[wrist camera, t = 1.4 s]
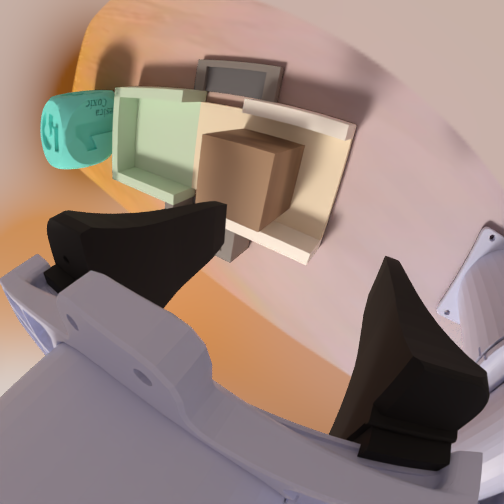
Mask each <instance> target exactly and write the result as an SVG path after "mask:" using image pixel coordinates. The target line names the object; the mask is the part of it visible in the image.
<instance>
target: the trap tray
mask: <svg viewBox="0 0 504 504" xmlns="http://www.w3.org/2000/svg"><path fill="white" fill-rule="evenodd" d="M283 72H284V68H283V67H279V66H272V65H265V64H257V63H248V62H237V61H223V60H200V59H199V60H198V66H197V72H196V79H195V85H194V89H185V88H172V87H154V86H129V87H115V95H114V110H113V133H112V173H113V179H114V180H117V181H119V182H121V183H123V184H126V185H128V186H130V187H133V188H135V189H137V190H139V191H142V192H144V193H146V194H149V195H151V196H153V197H155V198H158V199H160V200H162V201H164V202H165V209H168V208H173V207H179V206H184V205H189V204H195V200H196V196H195V189H197V178H198V169H199V159H200V150H201V142H202V134H206V133H213V132H220V131H227V130H235V129H243V128H244V129H248V130H252V131H256V132H260V133H264V134H268V135H271V136H275V137H278V138H282V139H285V140H289V141H292V142H295V143H299V144H302V145H305V148H304V152H303V156H302V161H301V165H300V169H299V173H298V177H297V181H296V185H295V189H294V193H293V197H292V201H291V205H290V208H289V209H288V210H287V211H285V212H284V213H283V214H282V215H280V216H279V217H278V218H276V219H275V220H274V221H272V222H271V223H270V224H269V225H267V226H266V227H265V228H263V229H262V230H261V231H260V232H256V231H254V230H251V229H249V228H247V227H245V226H242V225H240V224H238V223H235V222H233V221H231V220H228V219H226V227H225V241H224V244H223V245H222V247H221V248H220V249H219V251H218V252H217V253H216V254H215V256H217V257H219V258H221V259H223V260H225V261H227V262H229V263H230V262H232V261H233V260H234V259H235V258H237V257H238V256H239V255H240V254H241V253H243V252H244V251H245V250H246V249H248V247H249V241H250V240H252V241H254V242H256V243H258V244H260V245H263V246H265V247H267V248H269V249H271V250H274V251H276V252H278V253H280V254H282V255H285V256H287V257H289V258H291V259H293V260H295V261H298V262H300V263H302V264H304V265H307V264H308V262H309V261H310V259H311V258H312V257H313V255H314V254H315V253H316V251H317V250H318V248H319V246H320V243H321V240H322V237H323V234H324V231H325V228H326V225H327V222H328V219H329V216H330V213H331V210H332V207H333V204H334V201H335V198H336V195H337V191H338V188H339V185H340V182H341V178H342V175H343V172H344V168H345V165H346V162H347V158H348V155H349V151H350V148H351V144H352V140H353V137H354V133H355V129H356V126H357V125H355V124H352V123H349V122H346V121H343V120H340V119H337V118H334V117H330V116H327V115H324V114H320V113H317V112H313V111H309V110H305V109H302V108H298V107H293V106H289V105H285V104H281V103H277V101H278V96H279V91H280V86H281V82H282V77H283ZM207 91H211V92H219V93H226V94H232V95H239V96H244V97H250V98H255V99H244V104H243V108H239V107H234V106H228V105H223V104H217V103H210V102H206V97H207ZM257 99H261V100H257Z"/></svg>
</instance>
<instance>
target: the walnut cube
mask: <svg viewBox="0 0 504 504" xmlns="http://www.w3.org/2000/svg"><path fill="white" fill-rule="evenodd" d="M304 148H305V145H302V144H299V143H295V142H292V141H289V140H285V139H282V138H278V137H275V136H271V135H268V134H264V133H260V132H256V131H252V130H248V129H244V128H243V129H235V130H227V131H220V132H213V133H206V134H202V142H201V150H200V159H199V169H198V178H197V189H196V200H195V203H200V202H207V201H218V202H221V203H224V204H227V214H226V219H228V220H231V221H233V222H235V223H238V224H240V225H242V226H245V227H247V228H249V229H251V230H254V231H256V232H260V231H261V230H262V229H263V228H265V227H266V226H267V225H269V224H270V223H271V222H272V221H274V220H275V219H276V218H278V217H279V216H280V215H282V214H283V213H284V212H285V211H287V210H288V209H289V208H290V205H291V201H292V197H293V193H294V189H295V185H296V181H297V177H298V173H299V169H300V165H301V161H302V156H303V152H304Z"/></svg>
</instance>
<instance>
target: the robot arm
mask: <svg viewBox="0 0 504 504" xmlns="http://www.w3.org/2000/svg"><path fill="white" fill-rule="evenodd" d="M226 214H227V204H224V203H221V202H218V201H207V202H200V203H195V204H189V205H184V206H179V207H173V208H168V209H162V210H156V211H149V212H139V213H122V214H100V213H86V212H77V211H69V210H68V211H64V212H62V213H60V214H58V215H56V216H54V217H52V218H50V219H49V221H48V224H47V235H48V239H49V243H50V247H51V250H52V254H53V257H54V260H55V263H56V264H55V265H54V266H52V267H50V265H49V263H48V262H47V261H46V260H45V259H43V258H42V257H41V256H40V255H39V254H36V255H35V256H33V257H32V258H30V259H28V260H27V261H25V262H24V263H22V264H21V265H19V266H18V267H16V268H15V269H13V270H12V271H10V272H9V273H7V274H6V275H5V276H3V277H2V278H0V283H1V286H2V288H3V290H4V292H5V295H6V296H7V299H8V301H9V303H10V305H11V307H12V309H13V311H14V312H15V314H16V316H17V318H18V320H19V321H20V323H21V324H22V326H23V327H24V328H25V330H26V331H27V332H28V334H29V335H30V336H31V337H32V339H33V340H34V341H35V343H36V344H37V345H38V347H39V348H40V349H41V350H42V352H43V353H44V354H45V355H46V356H45V357H44V358H42V359H41V360H40V361H39V362H38V363H37V364H36V365H35V366H34V367H32V368H31V369H30V370H29V371H28V372H27V373H26V374H25V375H24V376H22V377H21V378H20V379H19V380H18V381H17V382H16V383H15V384H14V385H13V386H12V387H11V388H10V389H9V390H8V391H6V392H5V393H4V394H3V395H2V396H1V397H0V504H504V236H503V235H501V234H499V233H498V232H496V231H495V230H493V229H491V228H490V227H484V228H483V229H482V230H481V232H480V234H479V236H478V238H477V240H476V242H475V244H474V246H473V248H472V250H471V251H470V253H469V255H468V257H467V259H466V261H465V262H464V264H463V266H462V268H461V269H460V271H459V273H458V274H457V276H456V278H455V279H454V281H453V283H452V284H451V286H450V287H449V289H448V291H447V292H446V294H445V295H444V297H443V298H442V300H441V301H440V303H439V304H438V306H437V313H438V314H439V315H441V316H443V317H445V318H447V319H449V320H451V321H453V322H455V323H457V324H459V325H460V328H461V337H462V349H463V351H462V350H461V349H460V348H459V347H458V346H457V345H456V344H455V343H454V342H453V341H452V340H451V339H450V337H449V336H448V335H447V334H446V333H445V332H444V331H443V329H442V328H441V327H440V326H439V325H438V323H437V322H436V321H435V319H434V318H433V317H432V315H431V314H430V313H429V311H428V310H427V308H426V307H425V305H424V304H423V302H422V300H421V299H420V297H419V296H418V294H417V292H416V291H415V289H414V287H413V285H412V283H411V282H410V280H409V278H408V276H407V274H406V272H405V271H404V269H403V267H402V265H401V263H400V262H399V261H398V260H396V259H393V258H390V257H387V256H385V258H384V260H383V263H382V265H381V267H380V270H379V272H378V275H377V277H376V279H375V281H374V284H373V286H372V288H371V290H370V293H369V295H368V299H367V303H366V307H365V311H364V315H363V322H362V329H361V336H360V342H359V348H358V354H357V359H356V363H355V367H354V370H353V373H352V376H351V380H350V383H349V386H348V388H347V391H346V394H345V397H344V399H343V402H342V405H341V407H340V410H339V412H338V414H337V417H336V419H335V422H334V424H333V426H332V428H331V431H330V433H329V435H328V434H325V433H322V432H319V431H316V430H313V429H310V428H307V427H305V426H302V425H299V424H296V423H294V422H291V421H288V420H286V419H283V418H281V417H278V416H276V415H274V414H271V413H269V412H266V411H264V410H262V409H259V408H257V407H255V406H253V405H250V404H248V403H246V402H245V401H243V400H242V399H240V398H239V397H237V396H236V395H234V394H233V393H231V392H230V391H228V390H227V389H225V388H224V387H223V386H221V385H220V384H218V383H217V382H215V381H214V380H212V363H211V359H210V356H209V354H208V351H207V348H206V345H205V344H204V342H203V341H202V340H201V338H200V337H199V336H198V335H197V334H196V332H195V331H194V330H193V329H192V327H190V326H189V325H188V324H186V323H185V322H183V321H182V320H181V319H179V318H178V317H177V316H175V315H174V314H172V313H171V312H169V311H167V310H165V309H163V308H164V307H165V306H166V305H167V303H168V302H169V301H170V300H171V298H172V297H173V296H174V295H175V294H176V292H177V291H178V290H179V289H180V288H181V287H182V286H183V285H184V284H185V283H186V282H187V281H189V280H190V279H191V278H192V277H193V276H194V275H195V274H196V273H197V272H198V271H199V270H200V269H201V268H203V267H204V266H205V265H206V264H207V263H208V262H209V261H210V260H211V259H212V258H213V257H214V256H215V254H216V253H217V252H218V251H219V249H220V248H221V247H222V245H223V244H224V241H225V227H226ZM491 235H494V238H493V239H489V238H490V236H491ZM446 310H449V312H445V311H446Z"/></svg>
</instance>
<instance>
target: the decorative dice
mask: <svg viewBox="0 0 504 504" xmlns="http://www.w3.org/2000/svg"><path fill="white" fill-rule="evenodd" d="M114 95H115V93H114V92H113V91H112V90H90V91H80V92H72V93H66V94H61V95H57V96H53V97H51V98H50V99H49V101H48V102H47V103H46V105H45V107H44V109H43V113H42V117H41V141H42V146H43V150H44V153H45V156H46V158H47V160H48V162H49V163H50V164H51V165H52V166H53V167H56V168H59V169H77V168H83V167H88V166H92V165H96V164H98V163H101V162H103V161H105V160H106V159H107V158H108V157H109V156H110V155H111V154H112V133H113V110H114Z"/></svg>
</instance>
